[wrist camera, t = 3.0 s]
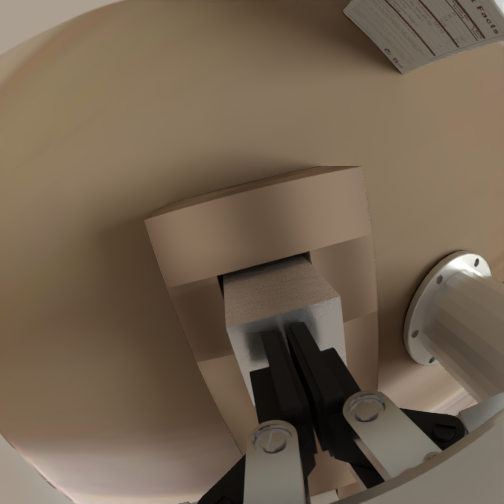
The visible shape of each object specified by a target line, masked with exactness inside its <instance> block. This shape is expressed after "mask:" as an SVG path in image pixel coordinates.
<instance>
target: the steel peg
mask: <svg viewBox="0 0 504 504" xmlns="http://www.w3.org/2000/svg"><path fill="white" fill-rule="evenodd" d="M223 280H224V301H225V319H226V330H227V333H228V336H229V338H230V341H231V344H232V347H233V350H234V353H235V356H236V359H237V361H238V364H239V367H240V370H241V373H242V375H243V378H244V381H245V384H246V386H247V389H248V392H249V395H250V397H251V400H252V403H253V405H254V406H255V402H254V396H253V391H252V385H251V380H250V374H249V372H250V371H254V370H258V369H262V368H265V367H269V363H268V360H267V356H266V353H265V349H264V345H263V342H262V338H261V333H265V332H268V331H272V330H275V333H279V332H281V333H282V336H283V338H284V341H285V344H286V346H287V349H288V351H289V354H290V350H289V346H288V341H287V337H286V332H285V331H286V330H289V329H290V325H293V324H296V323H300V322H303V321H304V322H305V324H306V326H307V327H308V329H309V331H310V333H311V335H312V336H313V338H314V340H315V342H316V344H317V345H318V347H319V349H320V351H323V350H326V349H329V348H332V347H333V348H335V350H336V351H337V353H338V354H339V356H340V357H341V359H342V361H343V362H344V364H345V365H346V367H347V362H346V349H345V337H344V327H343V317H342V308H341V299H340V295H339V294H338V293H337V292H336V291H335V290H334V289H333V288H332V287H331V285H330V284H329V283H328V282H327V281H326V280H325V279H324V278H323V277H322V276H321V275H320V274H319V272H318V271H317V270H316V269H315V268H314V267H313V266H312V265H311V264H310V263H309V262H308V261H307V260H306V258H305V257H304V256H303V255H302V254H301V253H300V254H297V255H293V256H289V257H285V258H282V259H278V260H274V261H271V262H267V263H263V264H259V265H256V266H252V267H248V268H244V269H240V270H237V271H233V272H229V273H225V274H223ZM290 356H291V355H290Z"/></svg>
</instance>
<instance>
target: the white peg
mask: <svg viewBox="0 0 504 504" xmlns="http://www.w3.org/2000/svg"><path fill="white" fill-rule="evenodd" d="M338 500H339V499H338V496H337V493H336V490H332V491H329V492H325V493H322V494H319V495H315V496H312V497H311V504H328V503H332V502H335V501H338Z"/></svg>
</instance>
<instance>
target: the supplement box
mask: <svg viewBox="0 0 504 504" xmlns="http://www.w3.org/2000/svg"><path fill="white" fill-rule="evenodd" d="M343 12H344V14H345V15H346V16H347V17H349V18H350V19H351V20H352V21H353V22H354V23H355V24H356V25H357V26H358V27H359V28H360V29H361V30H362V31H363V32H364V33H365V34H366V35H367V36H368V37H369V38H370V39H371V40H372V41H373V42H374V43H375V44H376V45H377V46H378V48H379V49H380V50H381V51H382V52H383V53H384V54H385V55H386V56H387V57H388V59H389V60H390V61H391V62H392V63H393V64H394V65H395V67H396V68H397V69H398V70H399V71H400V72H401V73H402V74H406V73H408V72H411V71H413V70H416V69H418V68H421V67H423V66H426V65H428V64H431V63H434V62H436V61H439V60H442V59H445V58H448V57H451V56H454V55H457V54H460V53H463V52H466V51H469V50H472V49H476V48H479V47H482V46H486V45H489V44H493V43H497V42H500V41H503V40H504V0H352V1H351V2H350V3H349V4H348V5H347V6H346V7H345V8H344V10H343Z"/></svg>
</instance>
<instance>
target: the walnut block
mask: <svg viewBox="0 0 504 504" xmlns="http://www.w3.org/2000/svg"><path fill="white" fill-rule="evenodd" d="M144 222H145V225H146V229H147V232H148V235H149V238H150V241H151V244H152V247H153V251H154V254H155V257H156V259H157V262H158V265H159V268H160V271H161V274H162V277H163V280H164V282H165V285H166V288H167V291H168V293H169V296H170V299H171V301H172V304H173V307H174V309H175V312H176V314H177V317H178V319H179V322H180V324H181V327H182V329H183V332H184V334H185V337H186V339H187V342H188V344H189V346H190V349H191V351H192V353H193V356H194V358H195V360H196V362H197V365H198V367H199V369H200V371H201V374H202V376H203V378H204V380H205V382H206V385H207V387H208V389H209V391H210V393H211V395H212V397H213V399H214V401H215V403H216V406H217V408H218V410H219V412H220V414H221V416H222V418H223V420H224V422H225V423H226V425H227V427H228V429H229V431H230V433H231V435H232V437H233V439H234V441H235V443H236V444H237V446H238V448H239V450H240V452H241V454H242V455H243V456H244V455H245V454H246V448H247V439H248V435H249V434H250V432H251V431H252V430H253V429H254V428H255V427H256V426H257V425H259V423H258V418H257V412H256V407H255V406H254V405H253V403H252V400H251V397H250V395H249V392H248V389H247V386H246V384H245V381H244V378H243V375H242V373H241V370H240V367H239V364H238V361H237V359H236V356H235V353H234V350H233V347H232V344H231V341H230V338H229V336H228V333H227V330H226V319H225V301H224V280H223V274H225V273H229V272H233V271H237V270H240V269H244V268H248V267H252V266H255V265H259V264H263V263H267V262H270V261H274V260H278V259H282V258H285V257H289V256H293V255H297V254H300V253H301V254H302V255H303V256H304V257H305V258H306V260H307V261H308V262H309V263H310V264H311V265H312V266H313V267H314V268H315V269H316V270H317V271H318V272H319V274H320V275H321V276H322V277H323V278H324V279H325V280H326V281H327V282H328V283H329V284H330V285H331V287H332V288H333V289H334V290H335V291H336V292H337V293H338V294H339V295H340V299H341V308H342V317H343V327H344V337H345V349H346V362H347V368H348V370H349V372H350V373H351V375H352V376H353V378H354V380H355V381H356V383H357V384H358V386H359V388H360V389H361V391H366V390H375V391H377V387H378V304H377V285H376V271H375V260H374V249H373V240H372V231H371V223H370V215H369V208H368V202H367V195H366V189H365V183H364V177H363V172H362V166H320V167H315V168H310V169H305V170H301V171H296V172H291V173H287V174H282V175H278V176H274V177H269V178H265V179H261V180H257V181H252V182H248V183H244V184H240V185H236V186H232V187H229V188H225V189H221V190H217V191H213V192H210V193H206V194H202V195H199V196H195V197H192V198H188V199H185V200H181V201H178V202H174V203H171V204H168V205H165V206H164V207H162V208H161V209H159V210H158V211H156V212H155V213H153V214H152V215H151V216H149V217H148V218H146V219H145V220H144ZM314 434H315V431H314ZM315 440H316V445H317V451H318V454H315V455H314V457H315V462H316V466H315V467H314V469H313V470H312V472H311V473H310V474H309V476H308V478H309V486H310V496H311V497H312V496H315V495H319V494H322V493H325V492H329V491H332V490H336V493H337V496H338V499H339V500H341V499H343V498H346V497H349V496H352V495H354V494H357V493H360V492H362V491H363V490H362V488H361V487H360V485H359V484H358V482H357V481H356V480H355V478H354V477H353V475H352V474H351V472H350V471H349V469H348V468H347V467H346V464H345V462H343V461H340V460H337V459H335V458H334V456H333V457H330V454H329V452H328V450H327V451H324V452H322V449H321V447H320V444H319V442H318V439H317V436H316V434H315Z"/></svg>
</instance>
